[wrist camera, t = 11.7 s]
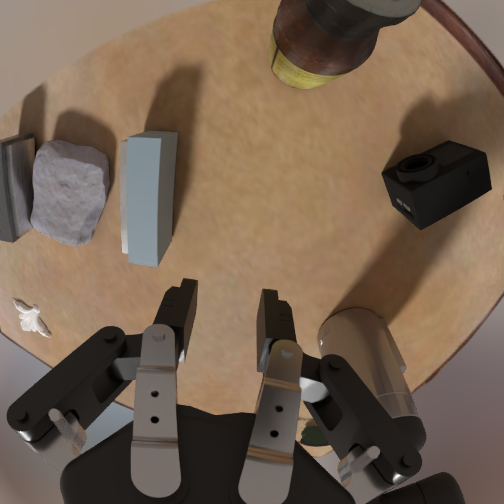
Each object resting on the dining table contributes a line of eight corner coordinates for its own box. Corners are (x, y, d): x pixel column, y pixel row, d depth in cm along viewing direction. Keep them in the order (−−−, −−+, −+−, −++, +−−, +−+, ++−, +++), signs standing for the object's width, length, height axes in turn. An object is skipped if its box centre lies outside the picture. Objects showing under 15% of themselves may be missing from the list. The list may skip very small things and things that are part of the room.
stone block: (122, 149, 29) (49, 133, 26) (111, 161, 25) (30, 144, 22) (106, 236, 35) (41, 219, 31) (96, 257, 31) (26, 238, 27)
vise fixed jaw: (38, 132, 25) (6, 142, 20) (44, 223, 31) (18, 243, 26) (18, 134, 25) (-14, 144, 20) (25, 220, 31) (-1, 240, 25)
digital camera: (446, 130, 25) (484, 140, 19) (457, 171, 28) (493, 189, 21) (376, 162, 28) (407, 179, 22) (392, 205, 30) (421, 231, 24)
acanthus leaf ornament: (53, 333, 42) (49, 340, 40) (29, 327, 42) (24, 333, 40) (38, 300, 38) (33, 307, 36) (14, 296, 38) (8, 302, 36)
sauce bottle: (340, 81, 24) (476, 59, 6) (281, 97, 25) (339, 78, 7) (316, 24, 21) (410, -75, 4) (256, 39, 22) (261, -72, 5)
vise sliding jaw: (178, 132, 26) (161, 138, 21) (171, 240, 32) (157, 267, 27) (140, 130, 26) (117, 136, 21) (138, 236, 32) (119, 261, 27)
